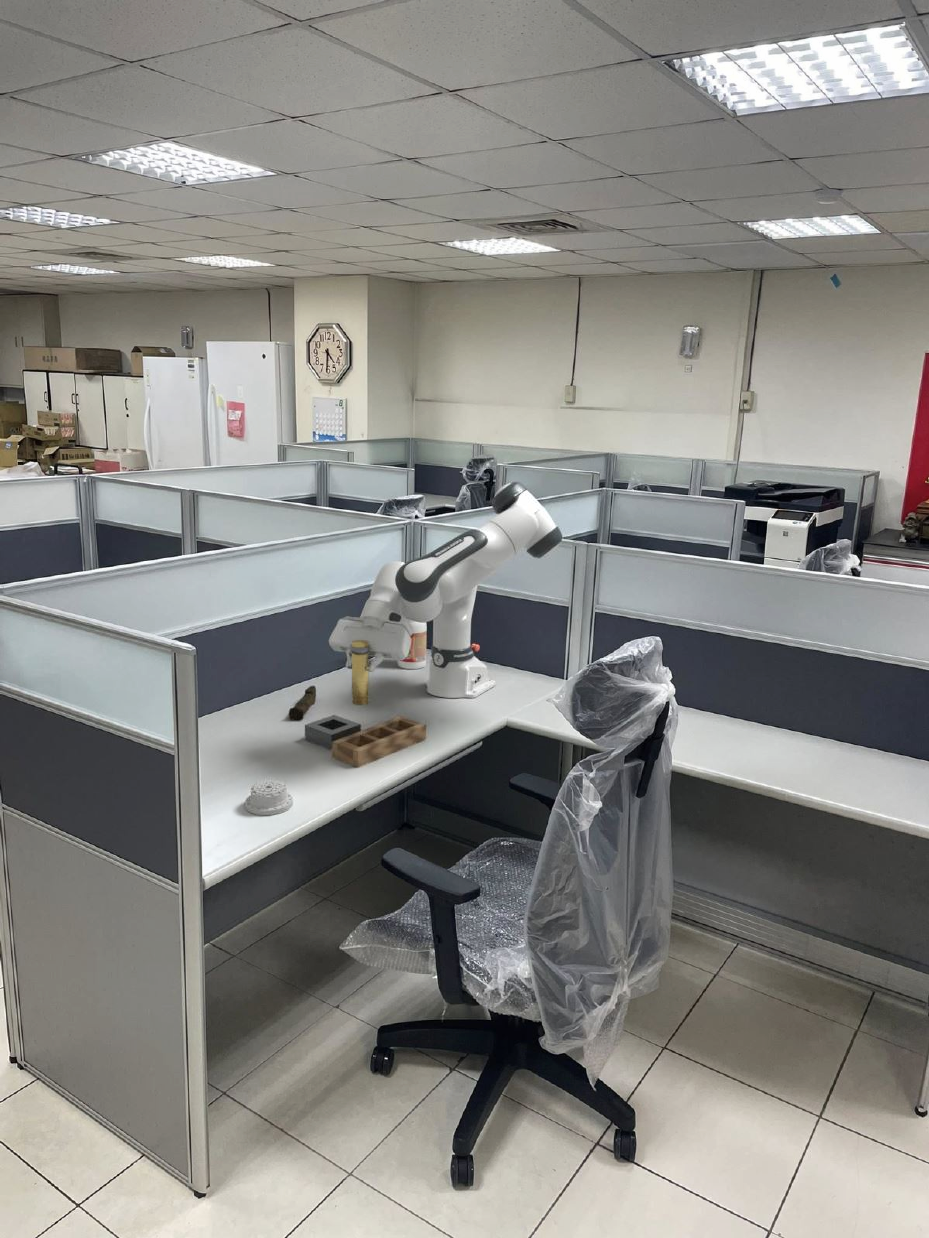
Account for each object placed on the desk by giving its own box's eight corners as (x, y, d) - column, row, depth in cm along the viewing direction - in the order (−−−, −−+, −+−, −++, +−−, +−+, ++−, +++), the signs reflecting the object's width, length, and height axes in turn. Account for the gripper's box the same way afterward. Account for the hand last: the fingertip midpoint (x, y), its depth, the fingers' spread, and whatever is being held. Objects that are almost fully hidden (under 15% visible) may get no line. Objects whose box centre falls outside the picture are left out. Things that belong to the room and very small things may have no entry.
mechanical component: (301, 799, 193) (259, 792, 196) (300, 780, 192) (259, 774, 195) (279, 819, 184) (236, 812, 187) (278, 800, 183) (235, 793, 185)
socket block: (334, 729, 233) (334, 714, 232) (360, 738, 227) (360, 724, 226) (305, 739, 226) (304, 724, 225) (331, 749, 220) (331, 734, 219)
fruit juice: (427, 669, 287) (429, 584, 280) (398, 670, 285) (399, 584, 278) (424, 660, 296) (425, 578, 289) (396, 661, 294) (396, 578, 287)
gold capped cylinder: (357, 698, 216) (356, 638, 212) (373, 701, 214) (373, 641, 210) (347, 703, 212) (346, 643, 208) (363, 706, 210) (363, 645, 206)
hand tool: (302, 722, 239) (302, 705, 238) (288, 721, 239) (288, 704, 238) (323, 699, 257) (323, 684, 256) (310, 698, 257) (310, 683, 256)
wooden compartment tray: (400, 730, 233) (400, 716, 232) (426, 739, 228) (426, 724, 227) (332, 757, 215) (332, 741, 214) (358, 767, 210) (358, 751, 209)
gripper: (336, 608, 218) (316, 657, 212) (411, 617, 211) (393, 668, 204) (345, 622, 223) (326, 670, 217) (419, 631, 216) (401, 681, 209)
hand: (359, 669), depth 210 cm, fingers closed on gold capped cylinder, 4 cm apart
